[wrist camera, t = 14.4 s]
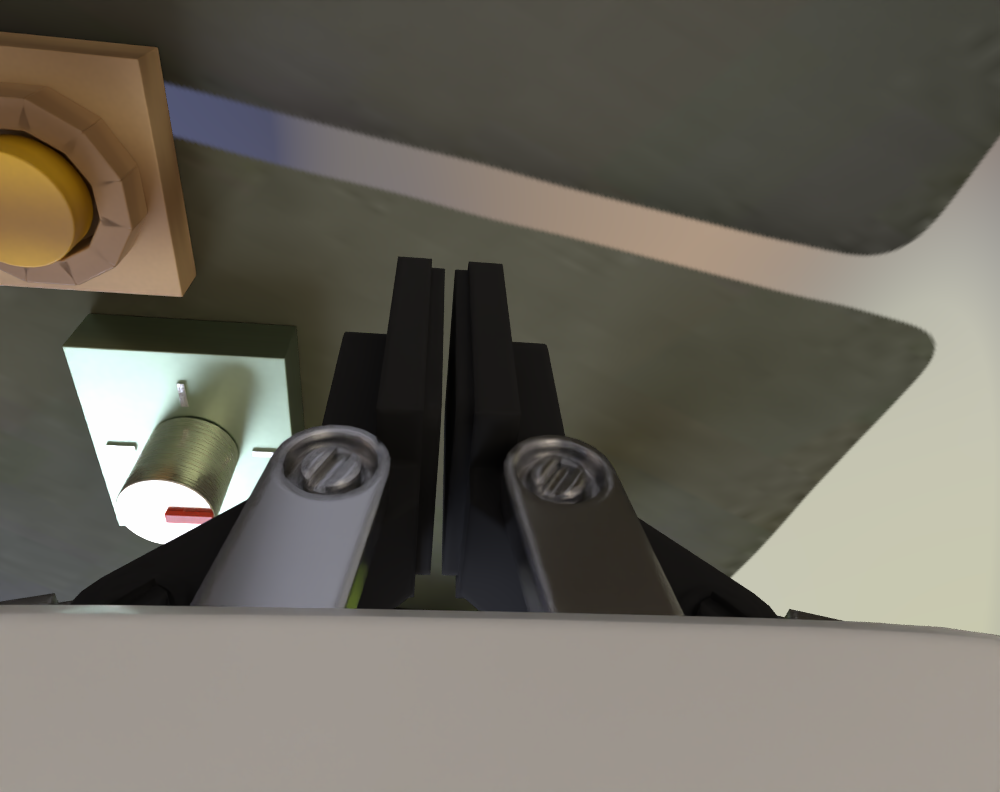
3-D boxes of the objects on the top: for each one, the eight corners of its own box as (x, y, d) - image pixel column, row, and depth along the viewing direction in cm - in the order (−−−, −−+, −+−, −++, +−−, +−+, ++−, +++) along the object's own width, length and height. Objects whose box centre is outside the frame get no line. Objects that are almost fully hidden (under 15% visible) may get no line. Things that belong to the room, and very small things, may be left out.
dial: (157, 478, 37) (122, 548, 33) (142, 414, 35) (103, 481, 31) (242, 483, 38) (218, 552, 34) (234, 419, 35) (207, 487, 31)
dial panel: (88, 313, 34) (59, 347, 32) (296, 325, 35) (284, 360, 33) (138, 488, 42) (117, 528, 39) (309, 494, 43) (300, 533, 40)
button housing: (-89, 22, 27) (-163, 42, 23) (158, 47, 28) (119, 70, 24) (-4, 261, 33) (-54, 304, 29) (196, 275, 34) (169, 317, 30)
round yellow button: (-56, 127, 26) (-85, 143, 24) (77, 139, 26) (56, 154, 25) (-14, 244, 28) (-38, 263, 27) (105, 252, 29) (88, 272, 27)
